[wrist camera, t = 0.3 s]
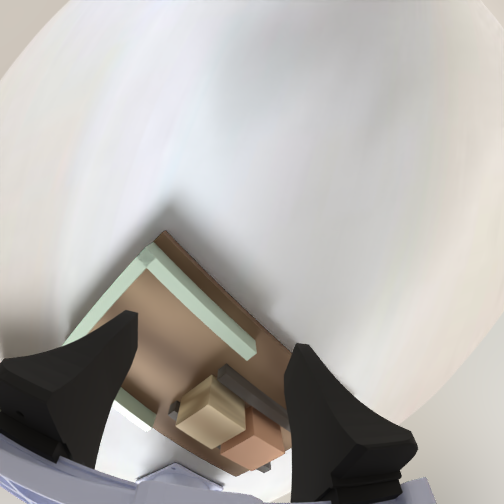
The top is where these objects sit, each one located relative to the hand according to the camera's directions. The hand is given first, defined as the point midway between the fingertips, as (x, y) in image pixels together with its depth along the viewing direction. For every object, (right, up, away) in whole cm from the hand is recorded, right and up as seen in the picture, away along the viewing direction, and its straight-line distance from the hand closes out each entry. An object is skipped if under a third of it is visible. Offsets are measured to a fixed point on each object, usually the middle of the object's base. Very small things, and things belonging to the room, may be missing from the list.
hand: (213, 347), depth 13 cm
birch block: (-2, -9, +12) cm, 15 cm away
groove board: (-3, -8, +12) cm, 15 cm away
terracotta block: (+2, -12, +13) cm, 18 cm away
